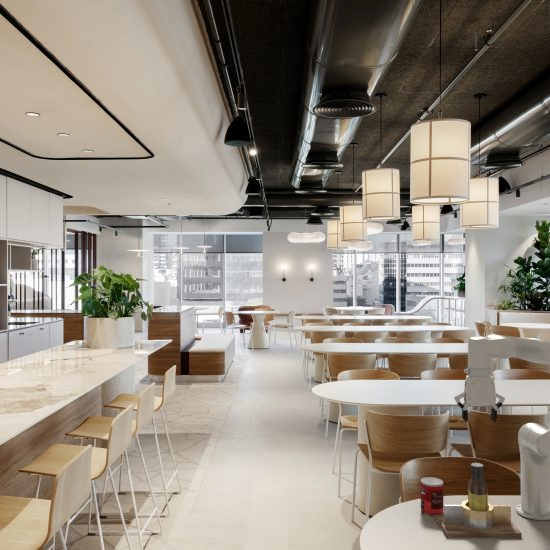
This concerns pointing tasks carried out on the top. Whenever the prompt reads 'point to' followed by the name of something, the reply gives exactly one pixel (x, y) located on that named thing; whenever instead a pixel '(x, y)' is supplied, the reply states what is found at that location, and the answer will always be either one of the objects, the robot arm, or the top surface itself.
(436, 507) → the canned food
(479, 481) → the sauce bottle
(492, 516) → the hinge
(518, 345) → the robot arm
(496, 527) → the walnut board
